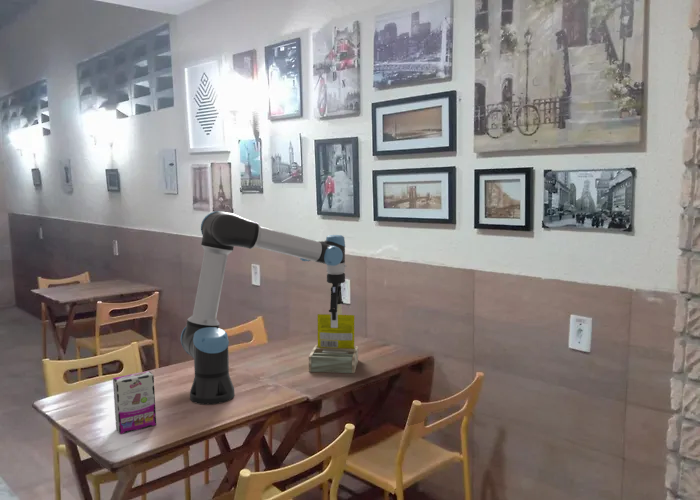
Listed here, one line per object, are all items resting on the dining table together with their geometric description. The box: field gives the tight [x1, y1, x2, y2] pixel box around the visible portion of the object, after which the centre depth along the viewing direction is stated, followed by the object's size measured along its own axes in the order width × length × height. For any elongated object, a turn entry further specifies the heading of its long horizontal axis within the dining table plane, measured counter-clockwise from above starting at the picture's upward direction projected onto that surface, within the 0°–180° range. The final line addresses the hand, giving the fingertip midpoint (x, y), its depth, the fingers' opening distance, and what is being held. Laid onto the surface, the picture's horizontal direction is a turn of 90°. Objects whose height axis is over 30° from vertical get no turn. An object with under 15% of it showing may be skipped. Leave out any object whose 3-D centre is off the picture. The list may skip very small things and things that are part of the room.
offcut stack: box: [322, 349, 348, 354], centre depth 240 cm, size 5×12×6 cm, turn 84°
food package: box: [317, 313, 355, 349], centre depth 244 cm, size 15×1×20 cm, turn 84°
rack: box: [308, 344, 359, 374], centre depth 240 cm, size 16×18×6 cm
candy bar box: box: [112, 370, 157, 435], centre depth 180 cm, size 11×5×16 cm, turn 126°
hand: (336, 323), depth 244 cm, fingers open, 13 cm apart
